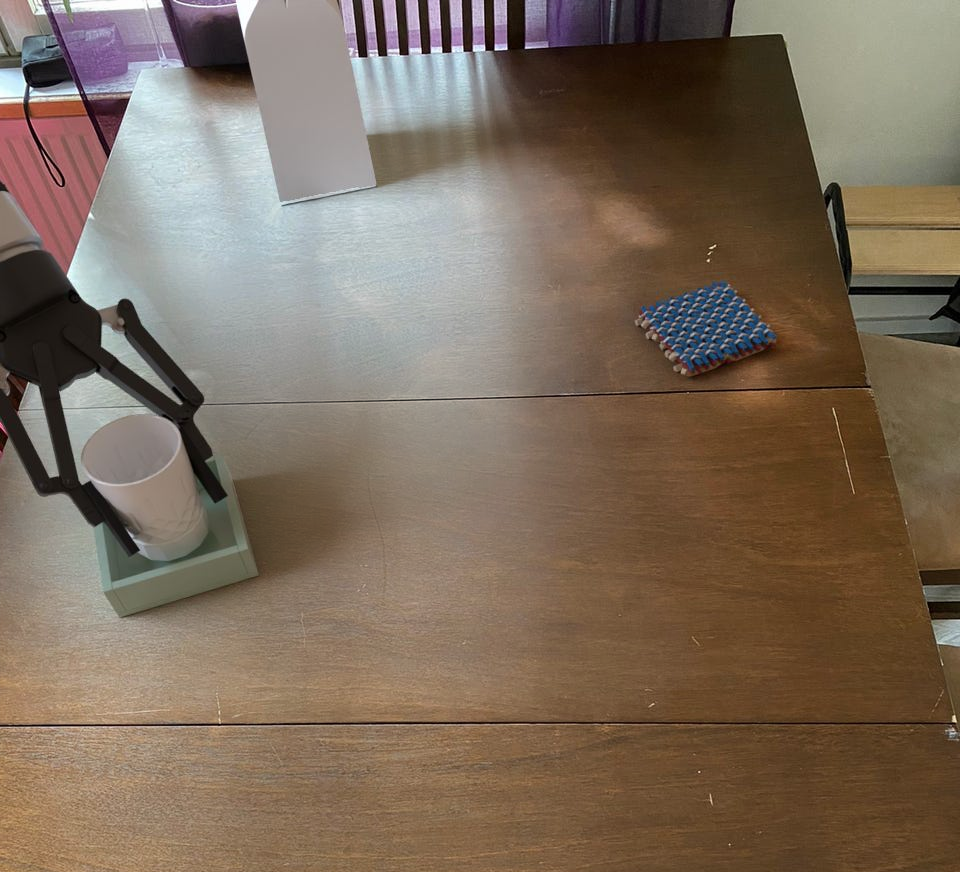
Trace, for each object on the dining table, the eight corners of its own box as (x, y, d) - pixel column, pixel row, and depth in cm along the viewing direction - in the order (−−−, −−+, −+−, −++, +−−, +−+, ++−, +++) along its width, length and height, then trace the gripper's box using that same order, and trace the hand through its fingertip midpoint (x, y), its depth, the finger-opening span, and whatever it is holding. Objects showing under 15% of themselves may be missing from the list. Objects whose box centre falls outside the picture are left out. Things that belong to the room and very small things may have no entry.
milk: (377, 187, 118) (335, -66, 97) (280, 206, 117) (217, -45, 96) (360, 135, 125) (318, -112, 103) (269, 152, 124) (208, -93, 102)
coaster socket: (119, 618, 84) (102, 592, 81) (102, 517, 91) (87, 490, 88) (259, 575, 86) (248, 548, 83) (233, 479, 92) (222, 451, 89)
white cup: (130, 504, 89) (86, 420, 81) (218, 493, 89) (184, 408, 81) (121, 573, 84) (74, 491, 76) (214, 561, 84) (177, 478, 76)
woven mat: (721, 290, 103) (724, 273, 101) (779, 351, 97) (783, 334, 95) (631, 321, 101) (632, 304, 99) (684, 385, 95) (686, 368, 94)
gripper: (117, 230, 83) (271, 468, 89) (-118, 346, 76) (65, 596, 82) (125, 196, 76) (291, 456, 82) (-132, 320, 70) (69, 594, 75)
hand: (178, 526), depth 82 cm, fingers closed on white cup, 8 cm apart
